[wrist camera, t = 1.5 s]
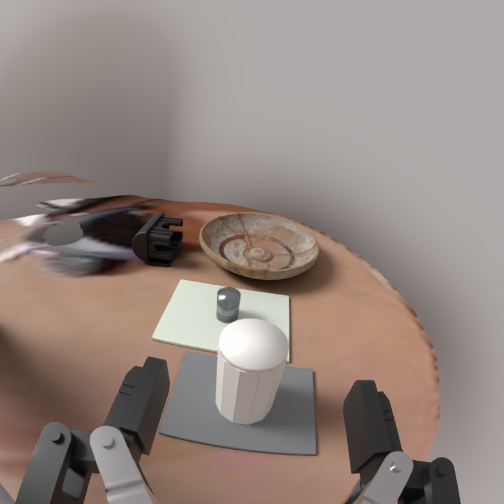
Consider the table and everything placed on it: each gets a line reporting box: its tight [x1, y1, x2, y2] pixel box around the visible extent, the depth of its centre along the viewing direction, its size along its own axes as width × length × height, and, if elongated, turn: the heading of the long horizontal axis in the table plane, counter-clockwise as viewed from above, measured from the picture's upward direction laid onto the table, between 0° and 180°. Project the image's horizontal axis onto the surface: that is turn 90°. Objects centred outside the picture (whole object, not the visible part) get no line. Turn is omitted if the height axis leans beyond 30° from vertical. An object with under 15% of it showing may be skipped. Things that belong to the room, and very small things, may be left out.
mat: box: [159, 351, 316, 455], centre depth 29 cm, size 16×12×1 cm
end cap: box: [132, 212, 183, 267], centre depth 54 cm, size 10×7×7 cm
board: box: [152, 280, 289, 363], centre depth 42 cm, size 18×14×1 cm
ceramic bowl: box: [199, 212, 320, 280], centre depth 57 cm, size 23×24×5 cm
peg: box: [216, 287, 241, 323], centre depth 40 cm, size 3×3×4 cm
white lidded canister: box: [215, 319, 289, 425], centre depth 27 cm, size 6×6×10 cm
